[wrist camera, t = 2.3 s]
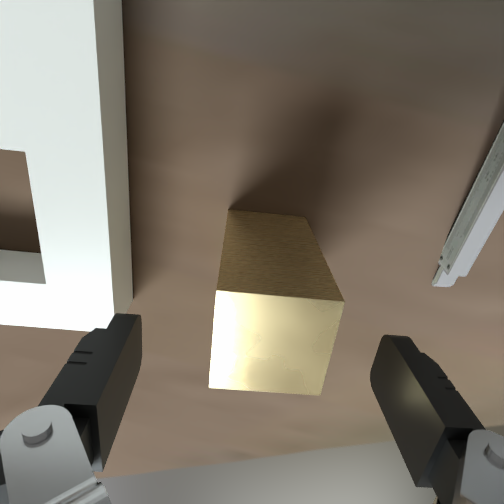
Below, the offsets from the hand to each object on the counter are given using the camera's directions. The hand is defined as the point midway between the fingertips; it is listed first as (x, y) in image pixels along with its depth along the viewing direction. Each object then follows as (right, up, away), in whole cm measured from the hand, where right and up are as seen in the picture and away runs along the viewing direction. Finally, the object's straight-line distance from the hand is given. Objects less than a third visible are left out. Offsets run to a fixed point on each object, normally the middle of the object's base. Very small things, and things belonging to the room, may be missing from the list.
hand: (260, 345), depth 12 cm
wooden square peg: (0, +3, +7) cm, 8 cm away
